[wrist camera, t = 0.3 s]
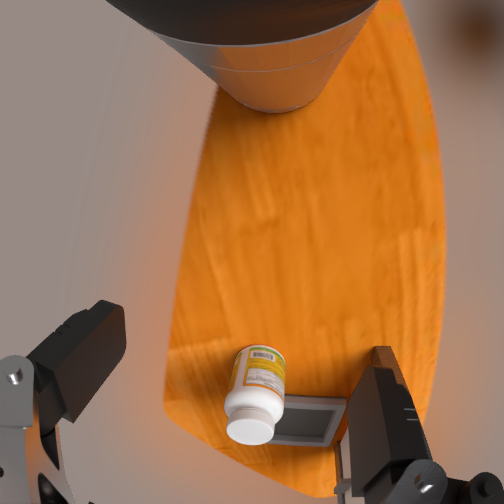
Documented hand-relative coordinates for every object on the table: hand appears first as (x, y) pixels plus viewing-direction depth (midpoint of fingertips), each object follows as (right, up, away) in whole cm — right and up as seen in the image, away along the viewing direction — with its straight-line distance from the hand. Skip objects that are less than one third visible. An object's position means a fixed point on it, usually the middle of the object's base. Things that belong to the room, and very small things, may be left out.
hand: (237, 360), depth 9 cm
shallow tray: (+7, -17, +25) cm, 31 cm away
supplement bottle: (+1, -8, +22) cm, 24 cm away
